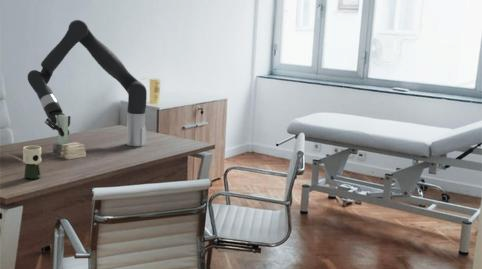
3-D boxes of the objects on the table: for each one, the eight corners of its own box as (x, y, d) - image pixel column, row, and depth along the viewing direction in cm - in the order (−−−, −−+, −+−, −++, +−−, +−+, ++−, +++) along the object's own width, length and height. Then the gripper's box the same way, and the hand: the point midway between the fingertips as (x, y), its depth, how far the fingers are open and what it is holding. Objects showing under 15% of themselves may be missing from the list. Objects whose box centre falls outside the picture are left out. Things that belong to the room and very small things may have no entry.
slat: (58, 151, 281) (58, 115, 278) (61, 151, 283) (61, 114, 279) (64, 154, 278) (64, 116, 274) (67, 153, 280) (68, 116, 276)
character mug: (31, 182, 236) (31, 151, 234) (16, 180, 238) (16, 149, 236) (48, 175, 246) (47, 145, 244) (33, 173, 249) (33, 143, 246)
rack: (44, 153, 280) (44, 140, 279) (66, 150, 289) (66, 137, 288) (66, 161, 269) (66, 147, 268) (88, 158, 278) (88, 144, 277)
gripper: (41, 102, 275) (55, 132, 270) (66, 100, 286) (81, 129, 280) (35, 111, 279) (49, 141, 274) (60, 109, 290) (74, 137, 285)
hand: (65, 135), depth 277 cm, fingers closed on slat, 2 cm apart
